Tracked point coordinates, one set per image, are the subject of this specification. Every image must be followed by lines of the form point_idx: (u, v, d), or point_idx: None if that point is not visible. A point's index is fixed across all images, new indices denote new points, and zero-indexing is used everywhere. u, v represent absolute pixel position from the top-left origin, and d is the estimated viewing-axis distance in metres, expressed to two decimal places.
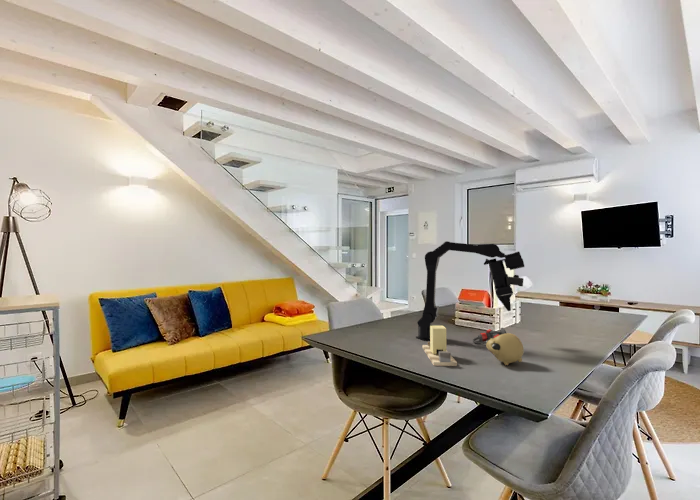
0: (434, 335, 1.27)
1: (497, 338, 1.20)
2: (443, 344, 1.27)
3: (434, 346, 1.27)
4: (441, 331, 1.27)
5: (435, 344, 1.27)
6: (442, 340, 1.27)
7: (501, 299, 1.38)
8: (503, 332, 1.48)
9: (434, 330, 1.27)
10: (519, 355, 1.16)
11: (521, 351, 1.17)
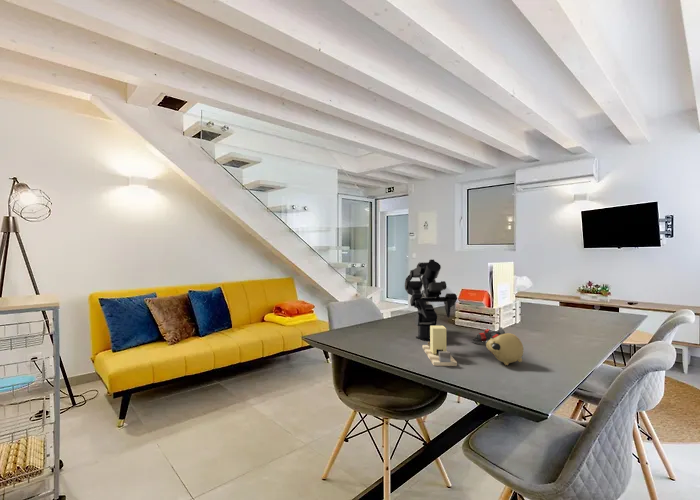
0: (434, 335, 1.27)
1: (497, 338, 1.20)
2: (443, 344, 1.27)
3: (434, 346, 1.27)
4: (441, 331, 1.27)
5: (435, 344, 1.27)
6: (442, 340, 1.27)
7: (418, 308, 1.42)
8: (502, 332, 1.49)
9: (434, 330, 1.27)
10: (519, 355, 1.16)
11: (521, 351, 1.17)
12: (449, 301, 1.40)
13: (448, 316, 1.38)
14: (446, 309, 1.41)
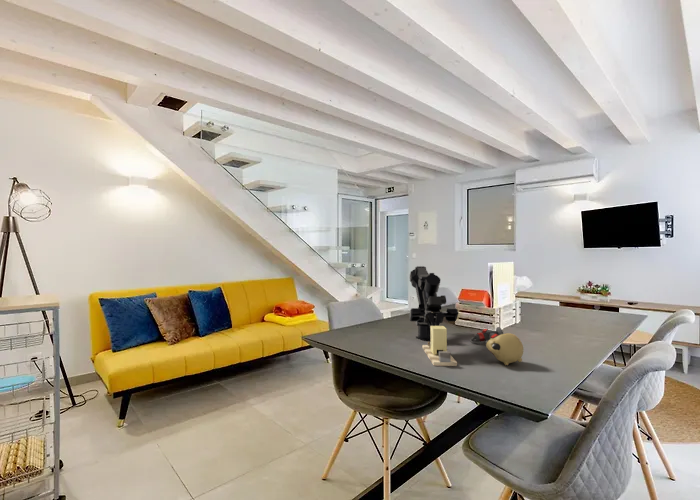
0: (434, 335, 1.26)
1: (497, 338, 1.20)
2: (444, 345, 1.26)
3: (434, 346, 1.26)
4: (441, 331, 1.26)
5: (435, 344, 1.26)
6: (442, 340, 1.26)
7: (429, 323, 1.37)
8: (500, 331, 1.49)
9: (434, 330, 1.26)
10: (519, 355, 1.16)
11: (521, 351, 1.17)
12: (438, 316, 1.34)
13: None
14: (435, 325, 1.35)
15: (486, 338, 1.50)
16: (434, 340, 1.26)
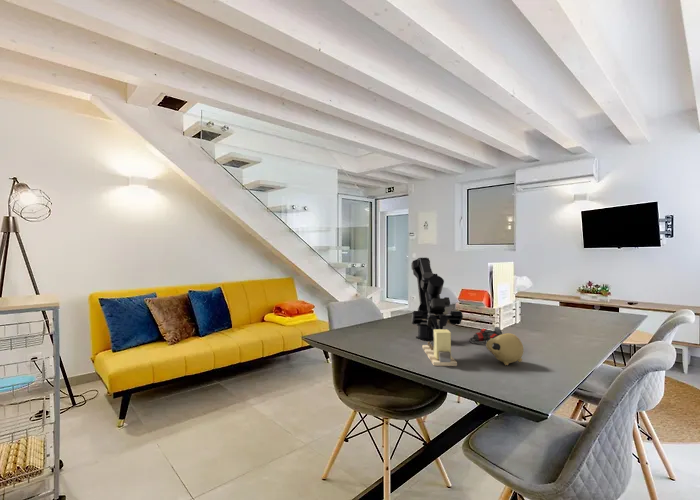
0: (438, 339, 1.20)
1: (497, 338, 1.20)
2: (448, 349, 1.20)
3: (438, 351, 1.20)
4: (445, 335, 1.20)
5: (439, 349, 1.20)
6: (446, 345, 1.20)
7: (432, 326, 1.31)
8: (498, 331, 1.50)
9: (438, 334, 1.20)
10: (519, 355, 1.16)
11: (521, 351, 1.17)
12: (442, 319, 1.28)
13: None
14: None
15: (485, 338, 1.50)
16: (438, 344, 1.20)
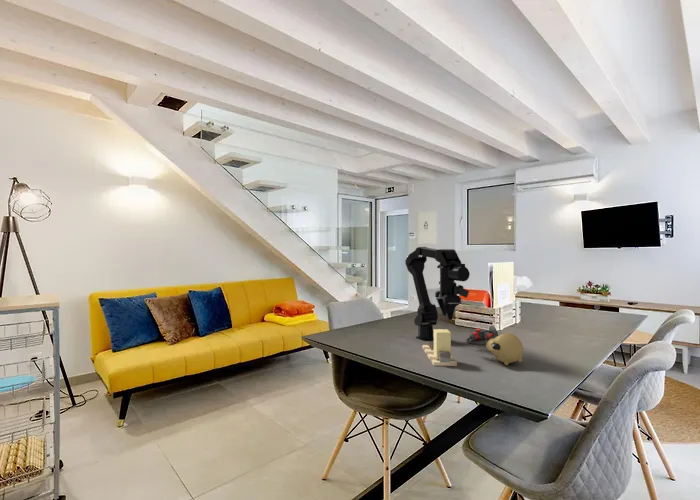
0: (438, 339, 1.20)
1: (497, 338, 1.20)
2: (448, 349, 1.20)
3: (438, 351, 1.20)
4: (445, 335, 1.20)
5: (439, 349, 1.20)
6: (446, 345, 1.20)
7: (447, 307, 1.34)
8: (494, 331, 1.51)
9: (438, 334, 1.20)
10: (519, 355, 1.16)
11: (521, 351, 1.17)
12: None
13: None
14: (442, 305, 1.45)
15: (481, 337, 1.51)
16: (438, 344, 1.20)
